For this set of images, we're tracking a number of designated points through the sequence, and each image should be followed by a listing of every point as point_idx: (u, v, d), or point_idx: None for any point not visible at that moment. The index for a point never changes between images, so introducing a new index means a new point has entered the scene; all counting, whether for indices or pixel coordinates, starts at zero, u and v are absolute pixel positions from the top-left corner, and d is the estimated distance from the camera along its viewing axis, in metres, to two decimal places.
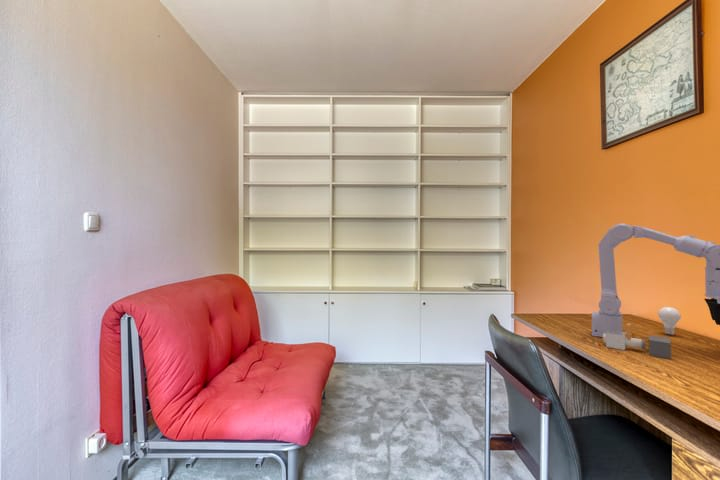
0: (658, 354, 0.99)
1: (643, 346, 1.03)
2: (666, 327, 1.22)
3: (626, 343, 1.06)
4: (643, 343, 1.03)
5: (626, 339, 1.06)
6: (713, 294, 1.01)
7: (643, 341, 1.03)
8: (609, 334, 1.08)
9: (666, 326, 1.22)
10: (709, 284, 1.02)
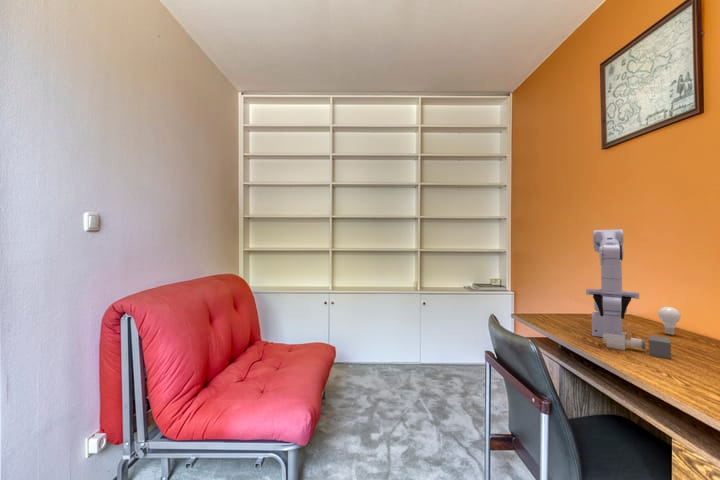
0: (658, 354, 0.99)
1: (643, 346, 1.03)
2: (666, 327, 1.22)
3: (626, 343, 1.06)
4: (643, 343, 1.03)
5: (626, 339, 1.06)
6: None
7: (643, 341, 1.03)
8: (609, 334, 1.08)
9: (666, 326, 1.22)
10: None
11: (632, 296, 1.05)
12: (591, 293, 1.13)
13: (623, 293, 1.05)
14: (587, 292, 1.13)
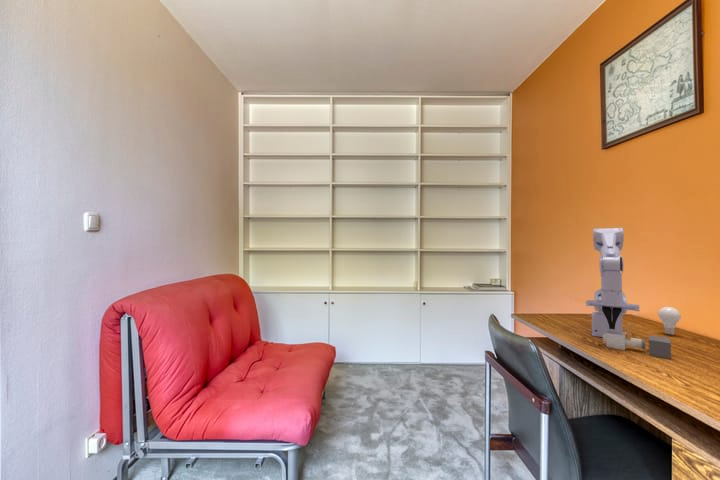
0: (658, 354, 0.99)
1: (643, 346, 1.03)
2: (666, 327, 1.22)
3: (626, 343, 1.06)
4: (643, 343, 1.03)
5: (626, 339, 1.06)
6: None
7: (643, 341, 1.03)
8: (609, 334, 1.08)
9: (666, 326, 1.22)
10: None
11: (632, 308, 1.05)
12: (591, 304, 1.13)
13: (623, 305, 1.06)
14: (587, 303, 1.13)
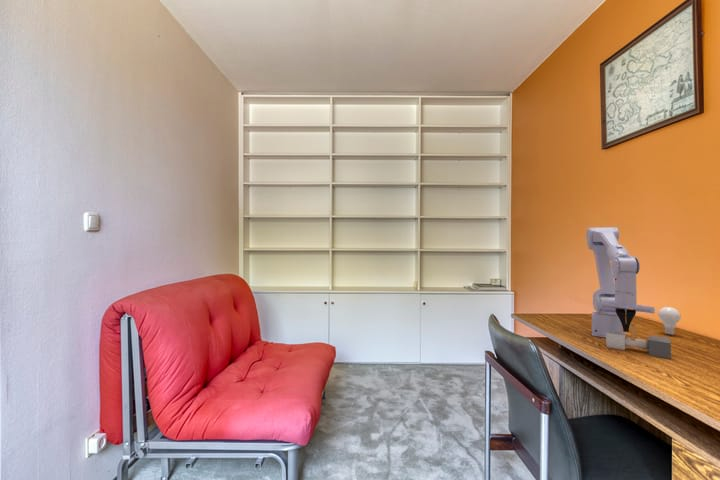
0: (658, 354, 0.99)
1: (648, 347, 1.02)
2: (666, 327, 1.22)
3: (630, 344, 1.05)
4: (648, 344, 1.02)
5: (630, 340, 1.05)
6: None
7: (648, 342, 1.02)
8: (609, 334, 1.08)
9: (666, 326, 1.22)
10: None
11: (647, 310, 1.03)
12: (604, 306, 1.11)
13: (638, 307, 1.03)
14: (600, 305, 1.11)
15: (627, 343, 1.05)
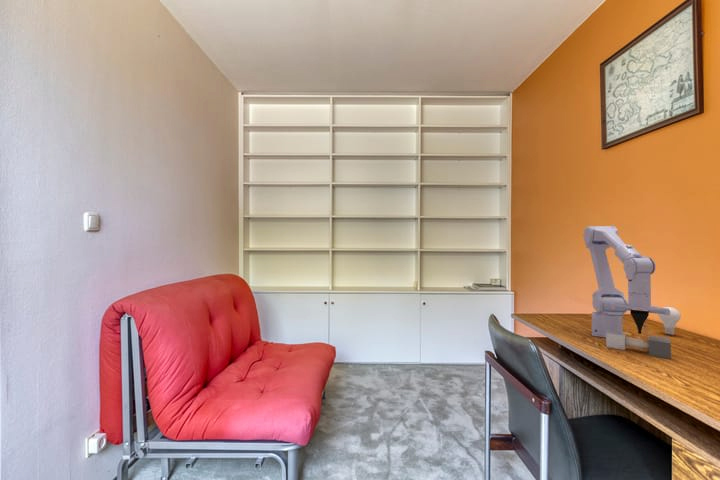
0: (658, 354, 0.99)
1: None
2: (666, 327, 1.22)
3: (643, 346, 1.03)
4: None
5: (643, 342, 1.03)
6: None
7: None
8: (609, 334, 1.08)
9: (666, 326, 1.22)
10: None
11: (662, 312, 1.00)
12: (617, 308, 1.08)
13: (653, 309, 1.01)
14: (613, 307, 1.08)
15: (640, 345, 1.03)
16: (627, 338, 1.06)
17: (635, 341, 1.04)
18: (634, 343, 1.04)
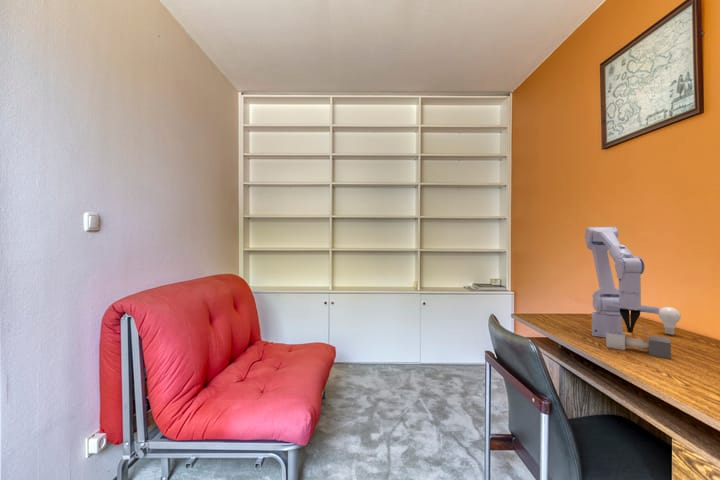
0: (658, 354, 0.99)
1: None
2: (666, 327, 1.22)
3: (642, 346, 1.03)
4: None
5: (642, 342, 1.03)
6: None
7: None
8: (609, 334, 1.08)
9: (666, 326, 1.22)
10: None
11: (652, 311, 1.02)
12: (608, 307, 1.10)
13: (642, 308, 1.02)
14: (604, 306, 1.10)
15: (639, 345, 1.03)
16: (626, 338, 1.06)
17: (634, 341, 1.04)
18: (633, 343, 1.04)
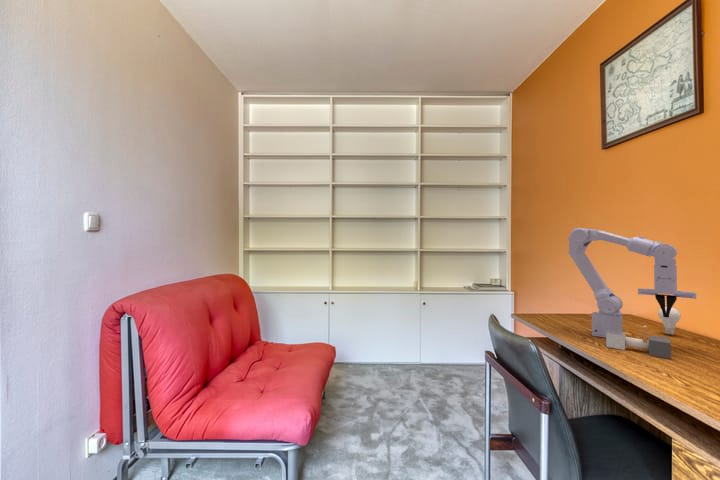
0: (658, 354, 0.99)
1: None
2: (666, 327, 1.22)
3: (642, 346, 1.03)
4: None
5: (642, 342, 1.03)
6: None
7: None
8: (609, 334, 1.08)
9: (666, 326, 1.22)
10: None
11: (688, 296, 1.05)
12: (643, 293, 1.13)
13: (679, 293, 1.05)
14: (639, 292, 1.13)
15: (639, 345, 1.03)
16: (626, 338, 1.06)
17: (634, 341, 1.04)
18: (633, 343, 1.04)
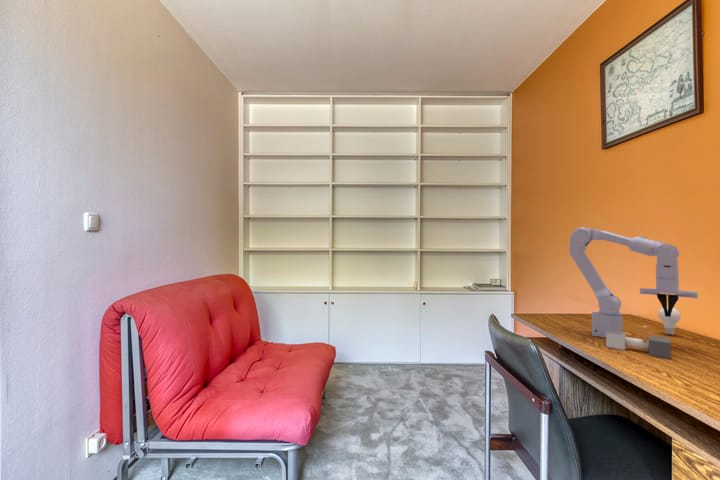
0: (658, 354, 0.99)
1: None
2: (666, 327, 1.22)
3: (642, 346, 1.03)
4: None
5: (642, 342, 1.03)
6: None
7: None
8: (609, 334, 1.08)
9: (666, 326, 1.22)
10: None
11: (690, 295, 1.06)
12: (645, 292, 1.13)
13: (681, 292, 1.06)
14: (641, 291, 1.14)
15: (639, 345, 1.03)
16: (626, 338, 1.06)
17: (634, 341, 1.04)
18: (633, 343, 1.04)
